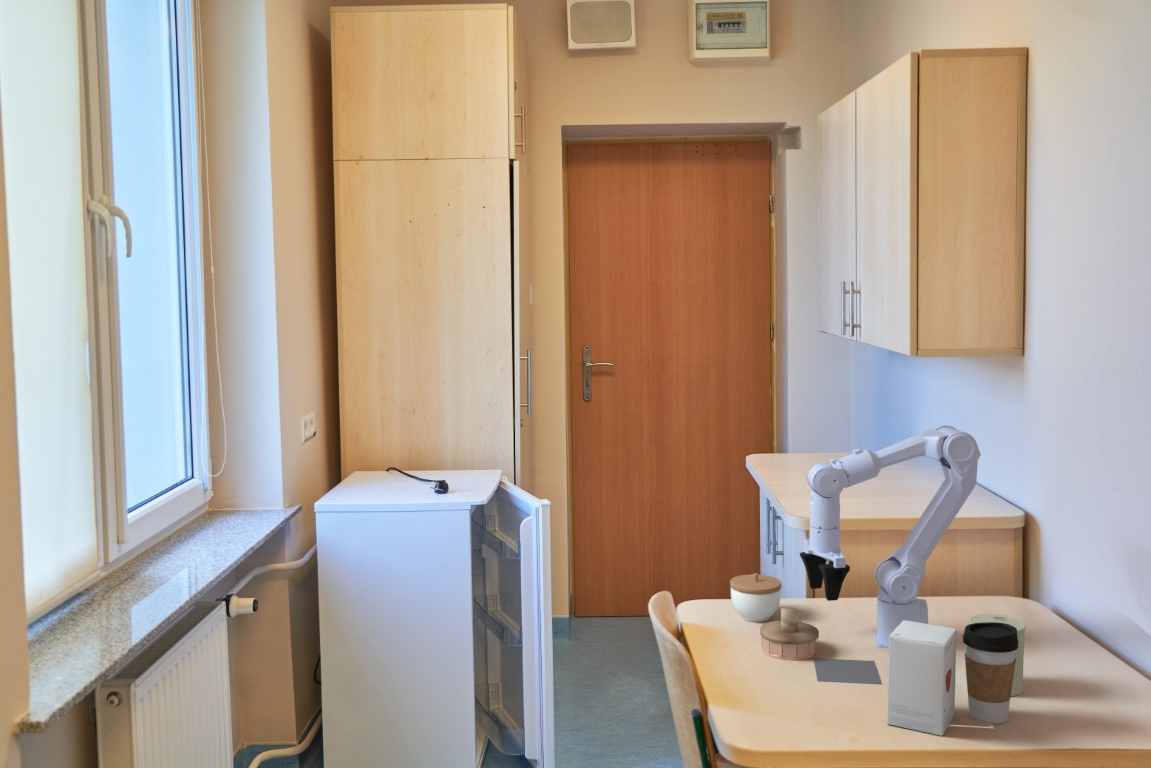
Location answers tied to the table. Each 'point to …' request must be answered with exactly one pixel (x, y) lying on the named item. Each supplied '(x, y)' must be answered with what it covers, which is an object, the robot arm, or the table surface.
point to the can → (1019, 653)
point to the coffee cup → (990, 669)
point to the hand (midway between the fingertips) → (823, 594)
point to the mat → (846, 671)
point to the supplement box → (921, 677)
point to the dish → (788, 650)
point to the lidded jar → (755, 596)
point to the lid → (789, 629)
